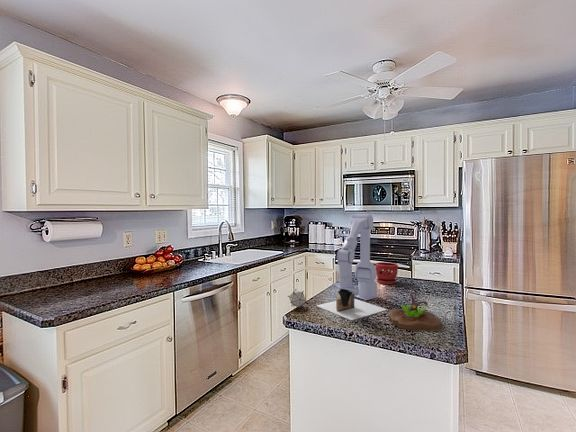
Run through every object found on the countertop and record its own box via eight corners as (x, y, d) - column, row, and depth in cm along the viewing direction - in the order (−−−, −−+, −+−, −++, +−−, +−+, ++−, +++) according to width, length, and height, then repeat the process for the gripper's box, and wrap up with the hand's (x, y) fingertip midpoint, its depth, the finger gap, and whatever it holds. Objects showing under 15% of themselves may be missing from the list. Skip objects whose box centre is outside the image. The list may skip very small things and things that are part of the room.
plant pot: (400, 285, 186) (400, 265, 186) (378, 285, 186) (378, 265, 186) (393, 280, 199) (393, 261, 199) (373, 280, 199) (373, 261, 199)
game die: (296, 316, 145) (286, 302, 140) (291, 304, 152) (282, 291, 148) (312, 306, 145) (304, 292, 140) (307, 295, 153) (298, 281, 148)
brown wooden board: (349, 307, 144) (349, 296, 144) (351, 307, 144) (351, 296, 143) (336, 310, 140) (336, 299, 140) (337, 310, 139) (337, 299, 139)
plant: (429, 314, 137) (430, 289, 137) (448, 332, 118) (448, 303, 117) (383, 312, 139) (383, 288, 139) (394, 330, 120) (394, 301, 119)
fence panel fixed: (355, 307, 144) (355, 294, 144) (352, 308, 143) (352, 294, 143) (339, 302, 153) (339, 289, 153) (337, 302, 152) (337, 289, 152)
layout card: (350, 297, 161) (350, 297, 161) (387, 310, 142) (387, 309, 142) (316, 306, 148) (316, 305, 148) (351, 320, 129) (351, 319, 129)
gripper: (327, 274, 143) (327, 303, 144) (351, 280, 131) (350, 312, 132) (339, 272, 147) (338, 300, 148) (362, 278, 135) (362, 309, 136)
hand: (345, 306), depth 140 cm, fingers closed
